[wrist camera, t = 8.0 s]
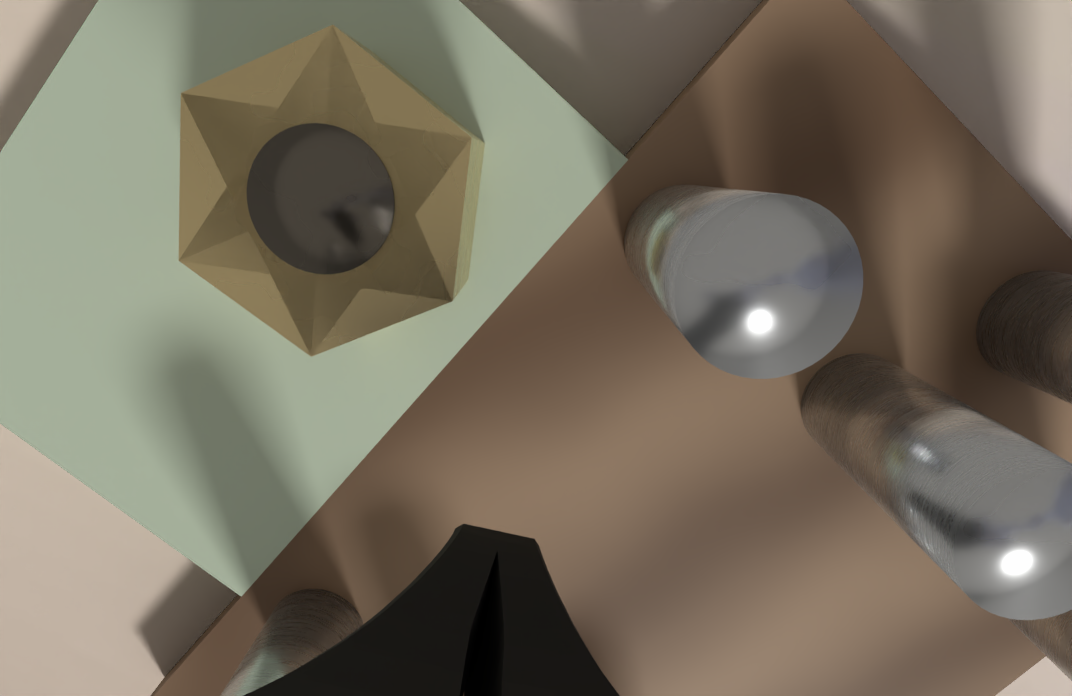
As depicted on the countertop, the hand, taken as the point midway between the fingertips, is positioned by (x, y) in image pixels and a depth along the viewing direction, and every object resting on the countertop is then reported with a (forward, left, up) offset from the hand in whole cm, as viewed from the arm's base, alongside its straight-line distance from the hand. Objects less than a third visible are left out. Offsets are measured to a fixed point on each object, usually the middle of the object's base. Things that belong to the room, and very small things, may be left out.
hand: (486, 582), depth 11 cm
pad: (+8, 0, -6) cm, 10 cm away
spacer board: (-5, 0, -6) cm, 8 cm away
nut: (+6, -3, -5) cm, 8 cm away
